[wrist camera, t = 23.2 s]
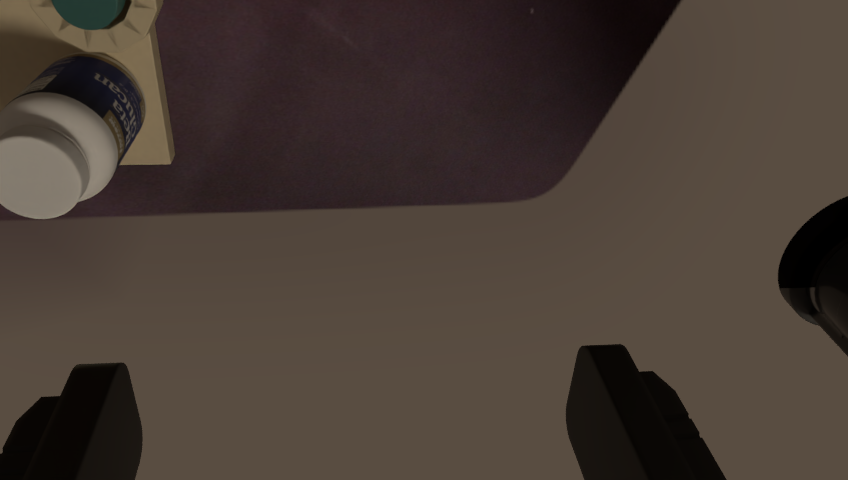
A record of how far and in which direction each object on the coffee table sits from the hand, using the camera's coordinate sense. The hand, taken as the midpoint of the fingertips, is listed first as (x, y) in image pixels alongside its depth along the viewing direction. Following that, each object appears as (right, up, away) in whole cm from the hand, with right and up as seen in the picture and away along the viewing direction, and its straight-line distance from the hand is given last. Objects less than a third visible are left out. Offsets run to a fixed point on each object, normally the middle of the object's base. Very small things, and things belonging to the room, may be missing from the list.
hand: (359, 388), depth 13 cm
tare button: (-15, +15, +21) cm, 30 cm away
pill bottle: (-17, +10, +26) cm, 32 cm away
